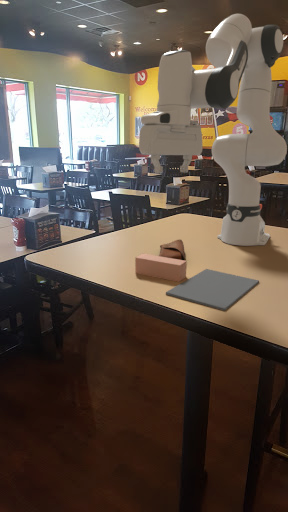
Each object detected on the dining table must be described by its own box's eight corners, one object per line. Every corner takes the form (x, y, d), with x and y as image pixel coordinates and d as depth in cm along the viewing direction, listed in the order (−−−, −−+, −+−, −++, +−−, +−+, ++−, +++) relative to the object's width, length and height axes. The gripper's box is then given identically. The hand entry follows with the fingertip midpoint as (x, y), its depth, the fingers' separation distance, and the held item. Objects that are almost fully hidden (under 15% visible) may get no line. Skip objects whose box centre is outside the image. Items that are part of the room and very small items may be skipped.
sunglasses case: (158, 244, 133) (171, 230, 131) (173, 257, 134) (186, 243, 132) (156, 260, 116) (171, 244, 114) (174, 274, 117) (188, 259, 115)
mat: (206, 270, 112) (206, 268, 112) (258, 282, 103) (259, 280, 103) (165, 294, 95) (165, 292, 95) (224, 310, 86) (224, 308, 86)
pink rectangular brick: (143, 269, 114) (143, 253, 113) (185, 277, 108) (186, 260, 106) (135, 273, 110) (135, 257, 109) (179, 282, 104) (180, 265, 102)
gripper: (192, 121, 108) (190, 171, 112) (135, 116, 96) (135, 172, 99) (209, 120, 103) (206, 172, 107) (151, 115, 91) (150, 174, 95)
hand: (171, 172), depth 103 cm, fingers open, 8 cm apart
